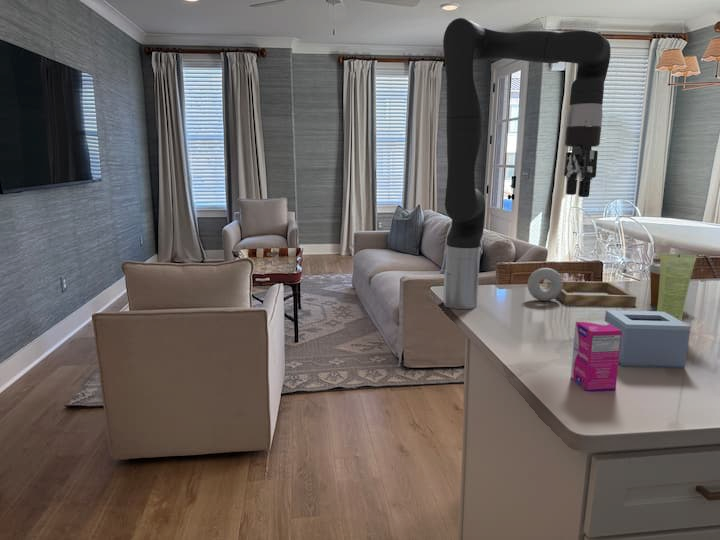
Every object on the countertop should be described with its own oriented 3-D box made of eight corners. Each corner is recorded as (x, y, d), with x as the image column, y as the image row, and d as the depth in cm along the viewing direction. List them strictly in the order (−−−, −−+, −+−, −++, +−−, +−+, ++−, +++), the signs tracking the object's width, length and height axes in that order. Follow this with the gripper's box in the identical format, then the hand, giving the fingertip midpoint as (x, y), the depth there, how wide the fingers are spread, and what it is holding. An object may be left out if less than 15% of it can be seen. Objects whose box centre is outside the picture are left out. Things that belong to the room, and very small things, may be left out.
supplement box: (568, 379, 96) (574, 320, 93) (599, 378, 96) (605, 320, 94) (584, 393, 90) (591, 330, 88) (616, 392, 90) (624, 330, 88)
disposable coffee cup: (646, 308, 144) (652, 266, 141) (642, 300, 152) (647, 261, 150) (685, 312, 140) (692, 269, 138) (679, 304, 149) (685, 263, 146)
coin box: (621, 367, 101) (626, 324, 99) (601, 350, 111) (605, 310, 109) (684, 370, 101) (690, 326, 99) (658, 351, 110) (663, 311, 109)
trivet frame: (565, 304, 147) (566, 294, 146) (546, 289, 165) (547, 280, 164) (635, 306, 146) (636, 296, 145) (608, 291, 164) (609, 281, 163)
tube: (664, 330, 125) (675, 251, 121) (685, 336, 121) (697, 254, 117) (649, 333, 123) (660, 252, 119) (670, 339, 118) (681, 256, 114)
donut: (559, 300, 152) (562, 267, 150) (562, 303, 149) (566, 269, 147) (525, 298, 153) (527, 266, 151) (527, 301, 150) (530, 268, 148)
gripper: (557, 127, 126) (551, 193, 129) (578, 122, 112) (571, 197, 116) (588, 127, 126) (582, 194, 129) (613, 123, 112) (605, 197, 115)
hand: (577, 195), depth 122 cm, fingers open, 8 cm apart
